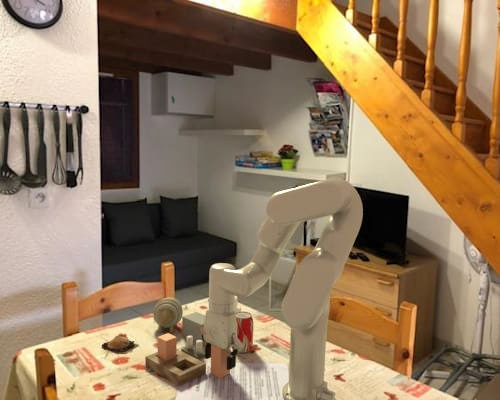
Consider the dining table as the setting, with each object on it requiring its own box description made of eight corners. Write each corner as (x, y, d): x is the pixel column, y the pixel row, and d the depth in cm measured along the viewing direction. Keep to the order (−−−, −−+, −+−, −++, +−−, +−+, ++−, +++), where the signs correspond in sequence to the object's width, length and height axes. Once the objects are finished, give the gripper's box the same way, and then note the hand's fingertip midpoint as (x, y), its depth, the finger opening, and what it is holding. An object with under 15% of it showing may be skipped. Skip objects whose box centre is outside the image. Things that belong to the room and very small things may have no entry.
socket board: (205, 373, 133) (206, 363, 133) (179, 386, 126) (179, 375, 125) (171, 355, 144) (171, 346, 143) (145, 366, 136) (145, 356, 136)
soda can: (250, 355, 145) (251, 319, 144) (229, 352, 146) (229, 317, 145) (254, 346, 152) (255, 311, 150) (234, 343, 153) (235, 309, 152)
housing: (215, 338, 157) (215, 319, 156) (201, 344, 152) (201, 324, 151) (196, 330, 163) (196, 311, 162) (182, 335, 158) (182, 316, 157)
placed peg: (176, 365, 138) (176, 337, 136) (165, 369, 135) (165, 341, 133) (168, 360, 140) (168, 333, 139) (157, 365, 137) (157, 336, 136)
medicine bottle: (216, 329, 165) (216, 297, 163) (223, 322, 172) (223, 291, 170) (234, 332, 163) (235, 300, 161) (240, 324, 170) (241, 293, 168)
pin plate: (207, 355, 144) (208, 340, 144) (197, 359, 141) (197, 345, 141) (191, 347, 150) (191, 333, 149) (181, 351, 146) (181, 337, 146)
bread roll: (140, 346, 151) (140, 336, 150) (123, 357, 143) (123, 346, 143) (115, 339, 155) (115, 329, 154) (97, 349, 147) (97, 338, 147)
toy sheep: (150, 337, 156) (150, 306, 155) (156, 318, 173) (156, 290, 172) (181, 336, 157) (181, 306, 156) (183, 318, 174) (184, 290, 173)
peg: (229, 373, 134) (230, 344, 132) (220, 378, 131) (220, 348, 129) (220, 368, 136) (220, 340, 135) (210, 373, 133) (211, 344, 132)
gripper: (192, 301, 134) (190, 357, 136) (234, 318, 122) (232, 378, 125) (210, 295, 139) (209, 349, 142) (252, 311, 128) (250, 368, 130)
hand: (220, 362), depth 133 cm, fingers open, 8 cm apart
